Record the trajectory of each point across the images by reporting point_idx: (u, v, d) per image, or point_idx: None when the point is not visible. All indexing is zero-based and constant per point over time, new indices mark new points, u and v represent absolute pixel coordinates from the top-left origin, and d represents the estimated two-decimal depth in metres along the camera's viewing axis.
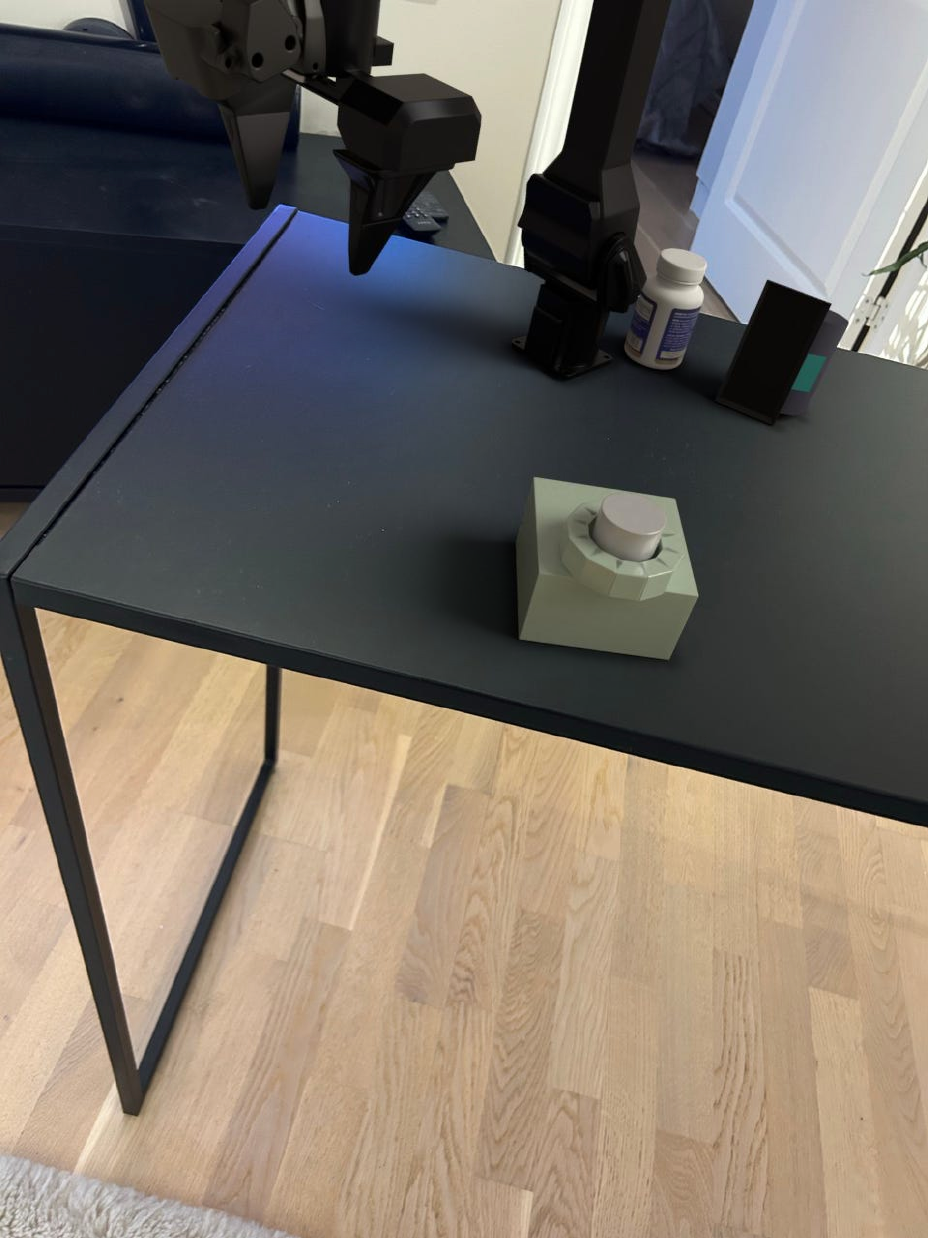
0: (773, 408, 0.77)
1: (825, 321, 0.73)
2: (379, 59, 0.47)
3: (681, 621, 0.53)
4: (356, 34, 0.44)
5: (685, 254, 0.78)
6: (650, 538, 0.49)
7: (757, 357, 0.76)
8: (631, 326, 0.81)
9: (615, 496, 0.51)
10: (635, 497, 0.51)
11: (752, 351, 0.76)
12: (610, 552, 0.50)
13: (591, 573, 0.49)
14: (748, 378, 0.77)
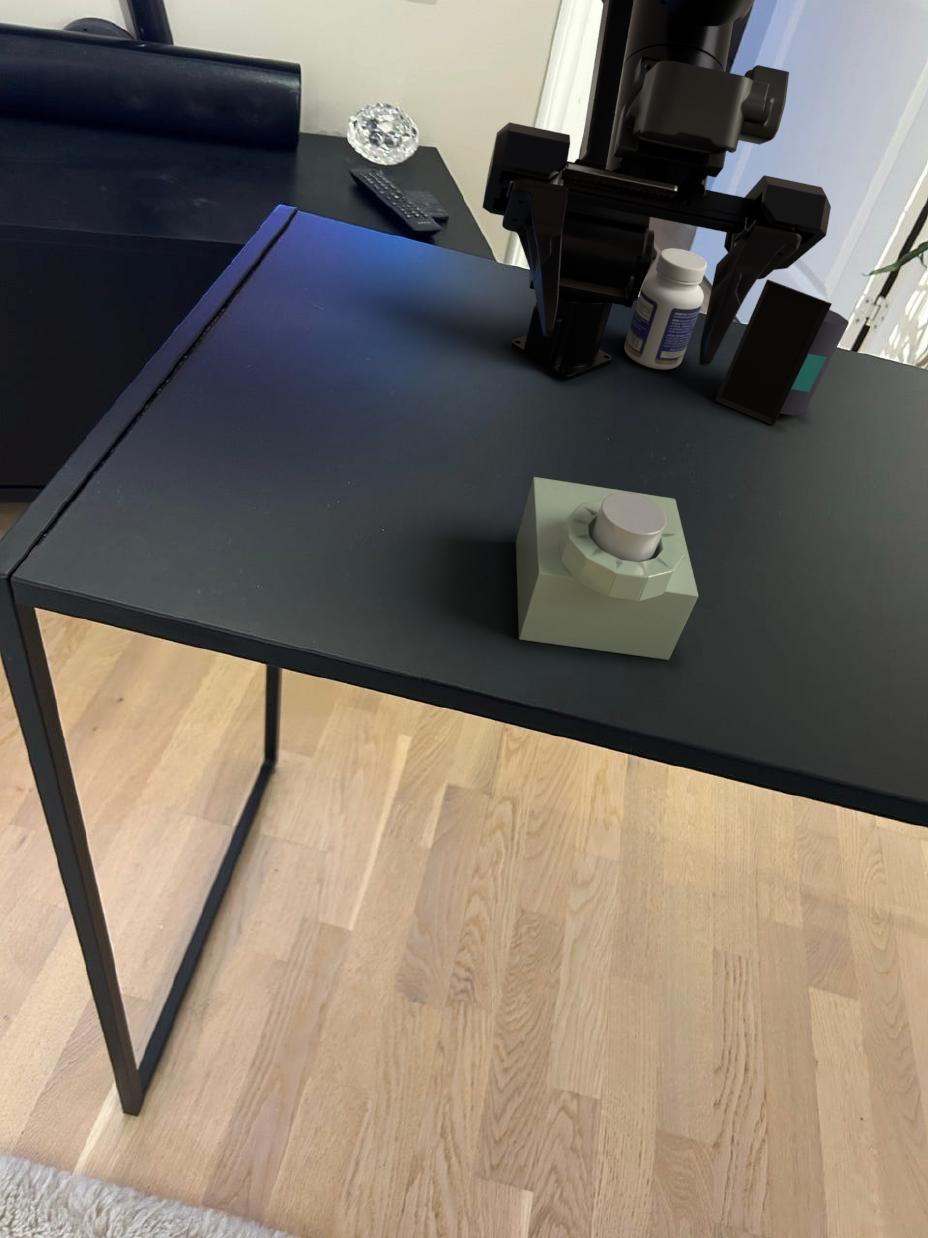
0: (773, 408, 0.77)
1: (825, 321, 0.73)
2: None
3: (681, 621, 0.53)
4: None
5: (685, 254, 0.78)
6: (650, 538, 0.49)
7: (757, 357, 0.76)
8: (631, 326, 0.81)
9: (615, 496, 0.51)
10: (635, 497, 0.51)
11: (752, 351, 0.76)
12: (610, 552, 0.50)
13: (591, 573, 0.49)
14: (748, 378, 0.77)
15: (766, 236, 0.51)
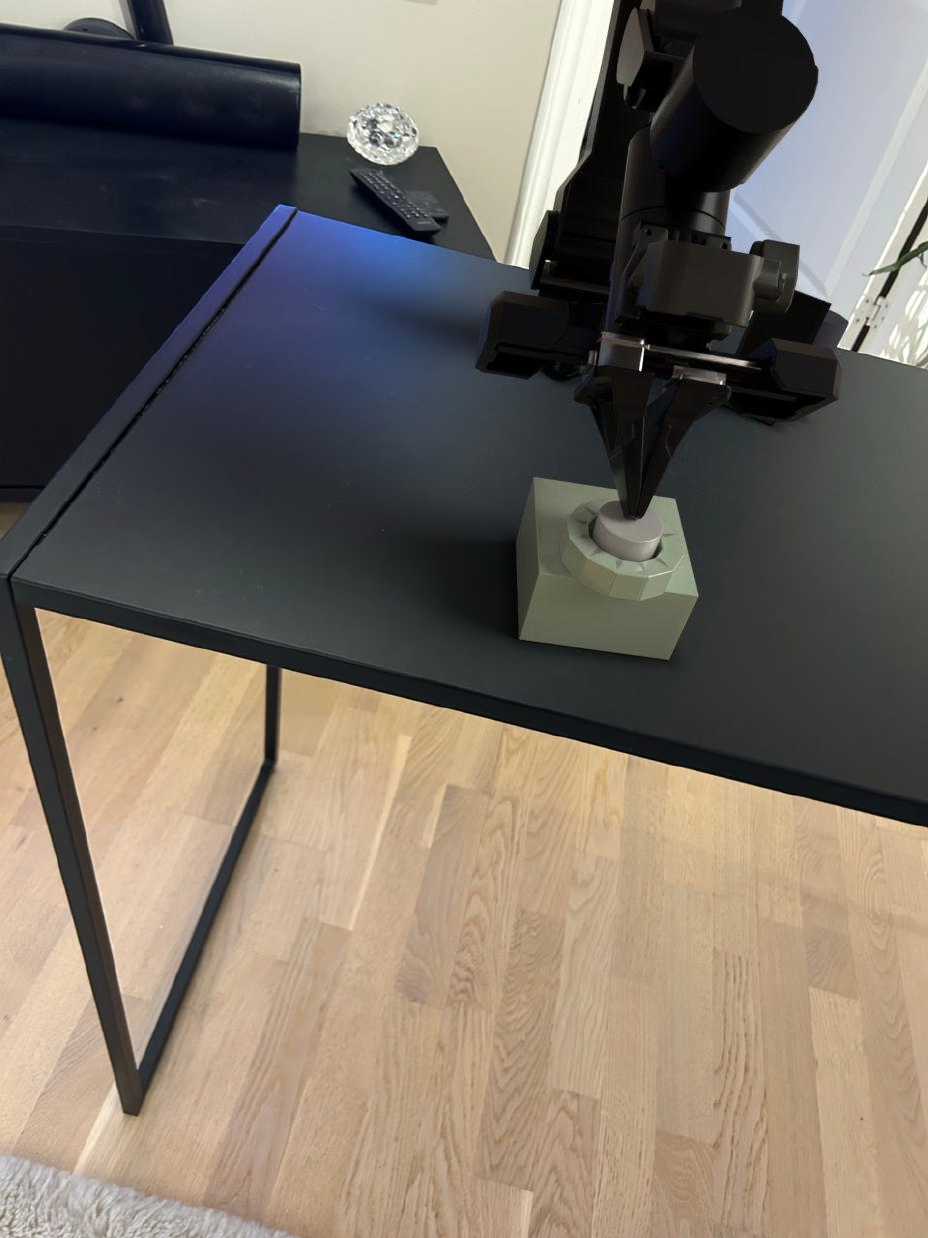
0: None
1: (825, 321, 0.73)
2: None
3: (681, 621, 0.53)
4: None
5: None
6: (647, 546, 0.49)
7: None
8: None
9: (612, 504, 0.51)
10: None
11: None
12: None
13: (591, 573, 0.49)
14: None
15: (695, 389, 0.48)
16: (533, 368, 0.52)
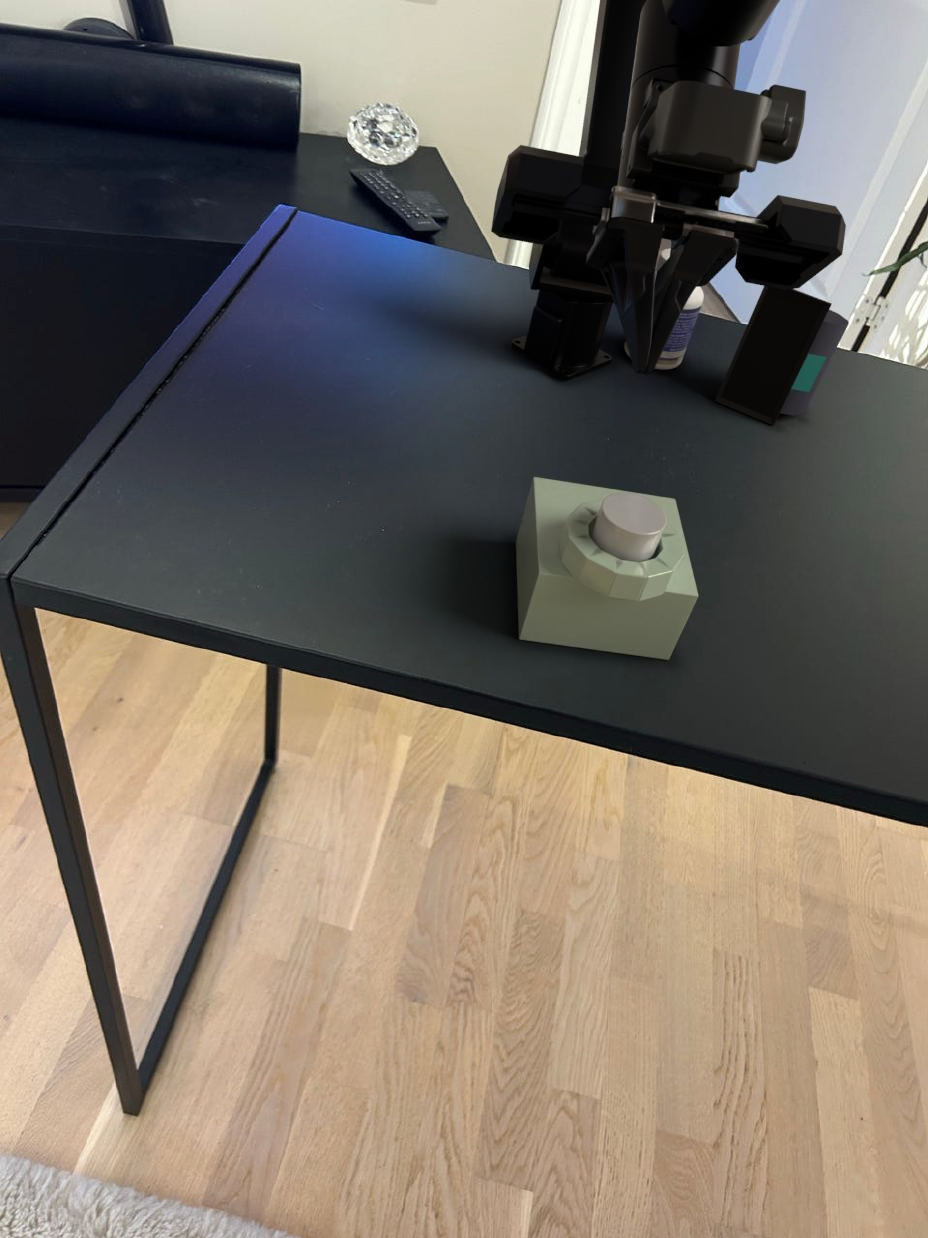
0: (773, 408, 0.77)
1: (825, 321, 0.73)
2: None
3: (681, 621, 0.53)
4: None
5: None
6: (650, 538, 0.49)
7: (757, 357, 0.76)
8: None
9: (615, 496, 0.51)
10: (635, 497, 0.51)
11: (752, 351, 0.76)
12: (610, 552, 0.50)
13: (591, 573, 0.49)
14: (748, 378, 0.77)
15: (704, 241, 0.49)
16: (547, 232, 0.54)
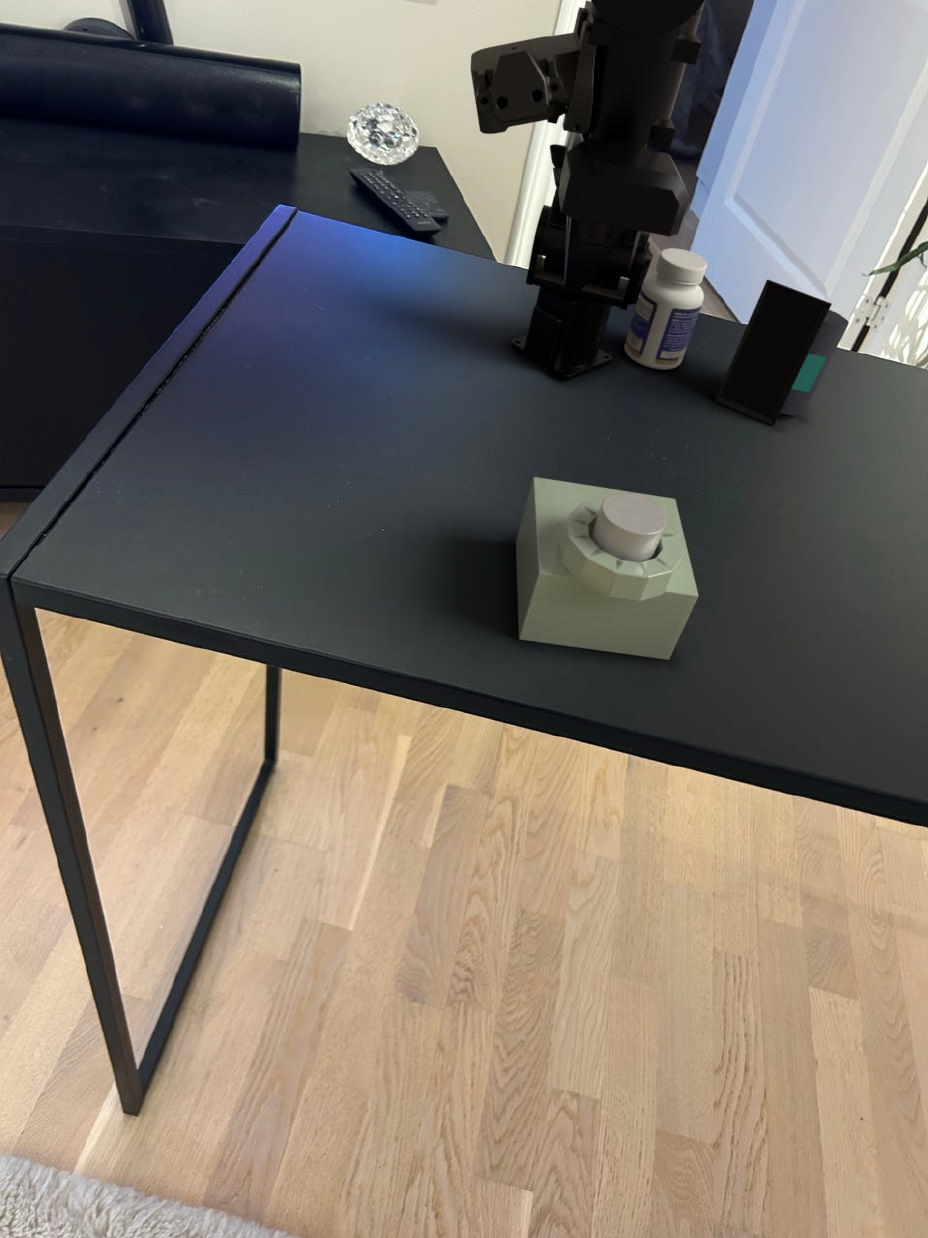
0: (773, 408, 0.77)
1: (825, 321, 0.73)
2: (655, 139, 0.51)
3: (681, 621, 0.53)
4: (627, 109, 0.49)
5: (685, 254, 0.78)
6: (650, 538, 0.49)
7: (757, 357, 0.76)
8: (631, 326, 0.81)
9: (615, 496, 0.51)
10: (635, 497, 0.51)
11: (752, 351, 0.76)
12: (610, 552, 0.50)
13: (591, 573, 0.49)
14: (748, 378, 0.77)
15: None
16: None
